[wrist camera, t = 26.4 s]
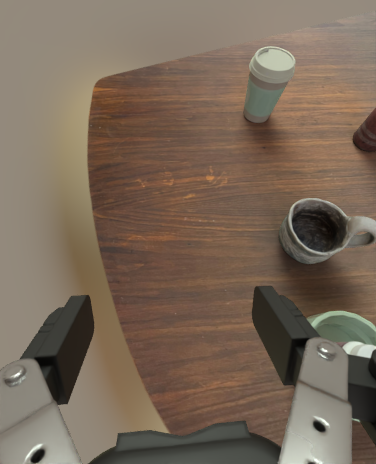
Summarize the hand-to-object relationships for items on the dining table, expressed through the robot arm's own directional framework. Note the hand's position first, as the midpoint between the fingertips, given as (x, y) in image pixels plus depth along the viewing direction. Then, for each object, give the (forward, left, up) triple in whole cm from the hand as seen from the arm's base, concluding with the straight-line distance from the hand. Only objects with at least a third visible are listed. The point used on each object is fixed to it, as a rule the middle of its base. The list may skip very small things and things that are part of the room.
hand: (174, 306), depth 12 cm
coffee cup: (+45, -21, -26) cm, 56 cm away
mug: (+13, -24, -26) cm, 38 cm away
